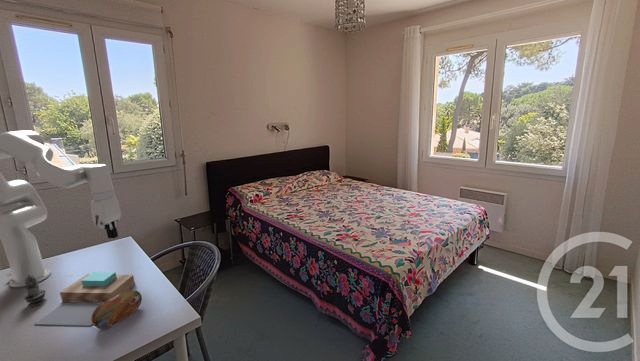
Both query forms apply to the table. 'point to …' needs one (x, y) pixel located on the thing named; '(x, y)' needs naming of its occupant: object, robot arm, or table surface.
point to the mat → (70, 315)
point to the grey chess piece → (34, 292)
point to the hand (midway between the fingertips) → (113, 237)
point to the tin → (116, 309)
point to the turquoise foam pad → (99, 279)
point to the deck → (96, 290)
